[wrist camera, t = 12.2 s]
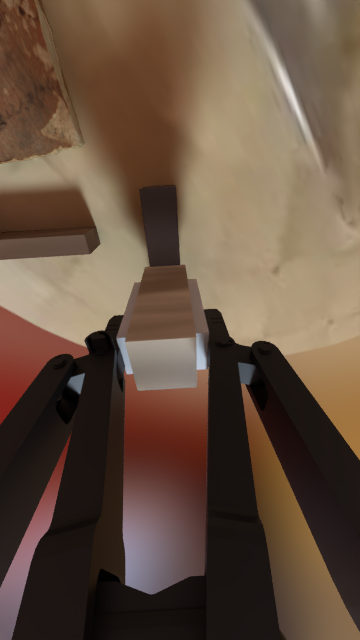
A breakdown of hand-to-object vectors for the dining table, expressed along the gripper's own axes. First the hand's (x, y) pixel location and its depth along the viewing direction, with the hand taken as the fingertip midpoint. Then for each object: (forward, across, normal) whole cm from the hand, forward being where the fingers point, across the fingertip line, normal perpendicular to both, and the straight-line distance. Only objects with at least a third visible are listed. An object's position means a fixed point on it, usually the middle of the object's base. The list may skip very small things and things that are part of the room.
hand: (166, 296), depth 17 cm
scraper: (+4, 0, 0) cm, 4 cm away
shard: (+6, -9, +11) cm, 16 cm away
